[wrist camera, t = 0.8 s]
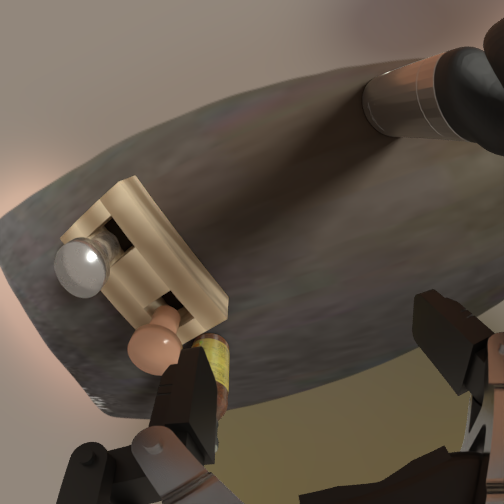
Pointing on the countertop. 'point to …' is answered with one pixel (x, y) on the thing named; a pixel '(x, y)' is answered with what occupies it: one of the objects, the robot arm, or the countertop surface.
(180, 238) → the beech block
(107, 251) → the grey peg
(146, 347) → the terracotta peg
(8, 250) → the countertop surface
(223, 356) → the sauce bottle
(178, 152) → the countertop surface
